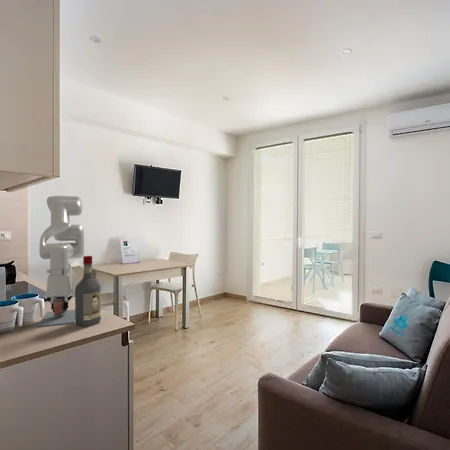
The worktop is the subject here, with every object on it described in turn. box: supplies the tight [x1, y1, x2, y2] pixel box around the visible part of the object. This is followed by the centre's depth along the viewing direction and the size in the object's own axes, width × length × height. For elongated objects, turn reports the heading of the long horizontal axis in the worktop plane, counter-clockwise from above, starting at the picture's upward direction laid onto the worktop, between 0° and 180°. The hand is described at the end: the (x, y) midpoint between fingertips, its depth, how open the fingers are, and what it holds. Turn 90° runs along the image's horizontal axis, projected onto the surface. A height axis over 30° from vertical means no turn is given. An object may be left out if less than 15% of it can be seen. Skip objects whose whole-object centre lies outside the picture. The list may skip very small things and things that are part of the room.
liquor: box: [74, 255, 102, 328], centre depth 140 cm, size 9×9×30 cm
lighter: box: [53, 295, 69, 317], centre depth 147 cm, size 8×3×10 cm, turn 174°
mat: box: [37, 309, 75, 328], centre depth 147 cm, size 20×14×1 cm
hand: (60, 310), depth 147 cm, fingers closed on lighter, 4 cm apart
